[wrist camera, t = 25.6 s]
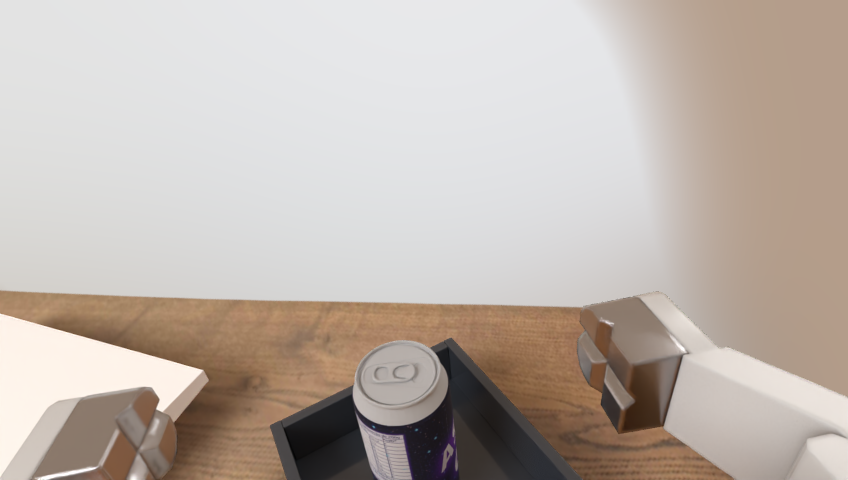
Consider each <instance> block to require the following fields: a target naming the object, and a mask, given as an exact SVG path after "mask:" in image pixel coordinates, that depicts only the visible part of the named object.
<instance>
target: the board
mask: <svg viewBox="0 0 848 480" xmlns="http://www.w3.org/2000/svg"><path fill="white" fill-rule="evenodd" d="M208 381H209V380H208V378H207V376H206V374H205V372H204V370H201V369H197V368H193V367H190V366H186V365H183V364H179V363H175V362H172V361H168V360H165V359H161V358H157V357H154V356H150V355H147V354H143V353H139V352H136V351H132V350H129V349H125V348H121V347H118V346H114V345H111V344H107V343H104V342H100V341H96V340H93V339H89V338H86V337H82V336H78V335H75V334H71V333H68V332H64V331H60V330H57V329H53V328H50V327H46V326H42V325H39V324H35V323H32V322H28V321H24V320H21V319H17V318H14V317H10V316H6V315H3V314H0V477H1V475H2V474H3V472H4V471H5V469H6V468H7V466H8V465H9V463H10V462H11V460H12V459H13V457H14V456H15V455H16V453H17V452H18V450H19V449H20V447H21V446H22V444H23V443H24V441H25V440H26V438H27V437H28V436H29V434H30V433H31V431H32V430H33V428H34V427H35V425H36V424H37V422H38V421H39V419H40V418H41V416H42V415H43V414H44V412H45V411H46V409H47V408H48V407H49V406H51V405H52V404H54V403H55V402H57V401H59V400H66V399H73V398H79V397H86V396H87V395H94V394H100V393H106V392H113V391H119V390H125V389H131V388H138V387H152V389H153V390H154V391H155V393H156V394H157V396H158V397H159V399H160V401H159V403H158V406H157V408H156V409H157V410H159V411H161V412H163V413H165V414H167V415H169V416H170V417H171V419H172V421H173V423H174V422H175V421H176V419H177V418H178V417H179V416H180V415H181V413H182V412H183V411H184V410H185V409H186V407H187V406H188V405H189V404H190V403H191V401H192V400H193V399H194V398H195V397H196V395H197V394H198V393H199V392H200V391H201V389H202V388H203V387H204V386H205V384H206V383H207V382H208Z"/></svg>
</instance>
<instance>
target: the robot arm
mask: <svg viewBox="0 0 848 480" xmlns="http://www.w3.org/2000/svg"><path fill="white" fill-rule="evenodd" d="M579 322H580V323H581V325H582V326H583V328H584V329H585V331H584V332H583V333H582V334H581V335H580V337H579V338H578V342H577V355H578V360H579V365H580V367H581V370H582V372H583V375H584V377H585V379H586V380H587V382H588V384H589V385H590V386H591V387H593V388H594V389H596V390H598V391H600V392H601V393H602V399H601V406H602V407H603V409H604V411H605V412H606V414H607V416H608V417H609V419H610V420H611V422H612V424H613V425H614V427H615V429H616V430H617V432H618V434H622V433H628V432H633V431H639V430H645V429H650V428H656V427H661V426H664V427H663V429H664V430H666V431H667V432H669V433H670V434H672V435H673V436H674V437H676V438H677V439H679V440H680V441H681V442H683V443H684V444H686V445H687V446H689V447H690V448H691V449H693V450H694V451H696V452H697V453H699V454H700V455H701V456H703V457H704V458H706V459H707V460H708V461H710V462H711V463H713V464H714V465H716V466H717V467H718V468H720V469H721V470H723V471H724V472H725V473H727V474H728V475H730V476H731V477H733V478H734V479H735V480H848V397H846V396H844V395H842V394H839V393H837V392H834V391H832V390H830V389H827V388H825V387H822V386H820V385H817V384H815V383H813V382H811V381H808V380H806V379H803V378H801V377H799V376H796V375H793V374H791V373H789V372H786V371H784V370H781V369H779V368H777V367H774V366H772V365H770V364H767V363H765V362H763V361H760V360H758V359H756V358H753V357H751V356H748V355H746V354H743V353H741V352H739V351H736V350H734V349H732V348H729V347H724V348H719V347H718V346H717V345H716V344H715V343H714V342H713V341H712V340H711V339H710V338H709V337H708V336H707V335H706V334H705V333H704V332H703V331H702V330H701V329H700V328H698V326H697V325H696V324H695V323H694V322H693V321H692V320H690V318H689V317H687V315H685V313H684V312H682V311H681V310H680V309H679V308H678V307H677V306H676V305H675V304H674V303H673V302H672V301H671V300H670V299H669V298H668V297H667V296H666V295H665V294H663V293H661V292H659V291H657V292H653V293H647V294H642V295H637V296H633V297H628V298H623V299H617V300H612V301H607V302H602V303H597V304H591V305H586V306H584V307H583V308H582V310H581V313H580V321H579ZM159 401H160V399H159V397H158V396H157V394H156V393H155V391H154V390H153V389H152V387H138V388H131V389H125V390H119V391H113V392H106V393H100V394H94V395H87V396H86V397H79V398H73V399H66V400H59V401H57V402H55V403H54V404H52V405H51V406H49V407H48V408H47V409H46V411H45V412H44V414H43V415H42V416H41V418H40V419H39V421H38V422H37V424H36V425H35V427H34V428H33V430H32V431H31V433H30V434H29V436H28V437H27V438H26V440H25V441H24V443H23V444H22V446H21V447H20V449H19V450H18V452H17V453H16V455H15V456H14V457H13V459H12V460H11V462H10V463H9V465H8V466H7V468H6V469H5V471H4V472H3V474H2V475H1V477H0V480H161V479H162V478H163V477H164V476H165V475H166V474H167V473H168V472H169V471H170V470H171V469H172V467H173V463H174V460H175V457H176V454H177V439H178V436H177V432H176V428H175V424H174V423H173V421H172V419H171V417H170V416H169V415H167V414H165V413H163V412H161V411H159V410H157V409H156V408H157V406H158V403H159Z"/></svg>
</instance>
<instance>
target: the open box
mask: <svg viewBox="0 0 848 480" xmlns="http://www.w3.org/2000/svg"><path fill="white" fill-rule="evenodd" d="M430 349H431V350H433V351H434V352H435V354H436V355H437V357H438V358H439V361H440V363H441V364H442V365H443V367H444V368H445V370H446V371H447V374H448V376H449V381H450V391H451V400H452V410H453V420H454V429H455V439H456V449H457V459H458V468H459V478H460V480H583V479H582V478H581V477H580V476H579V475H578V474H577V473H576V472H575V471H574V470H573V469H572V467H571V466H570V465H569V464H568V463H567V462H566V461H565V460H564V459H563V458H562V457H561V456H560V455H559V453H558V452H557V451H556V450H555V449H554V448H553V447H552V446H551V445H550V444H549V443H548V442H547V440H546V439H545V438H544V437H543V436H542V435H541V434H540V433H539V432H538V431H537V430H536V429H535V427H534V426H533V425H532V424H531V423H530V422H529V421H528V420H527V419H526V418H525V417H524V416H523V415H522V413H521V412H520V411H519V410H518V409H517V408H516V407H515V406H514V405H513V404H512V403H511V402H510V400H509V399H508V398H507V397H506V396H505V395H504V394H503V393H502V392H501V391H500V390H499V389H498V387H497V386H496V385H495V384H494V383H493V382H492V381H491V380H490V379H489V378H488V377H487V376H486V375H485V373H484V372H483V371H482V370H481V369H480V368H479V367H478V366H477V365H476V364H475V363H474V362H473V360H472V359H471V358H470V357H469V356H468V355H467V354H466V353H465V352H464V351H463V350H462V349H461V347H460V346H459V345H458V344H457V343H456V342H455V341H454V340H453V339H452V338H449V339H447V340H445V341H444V342H441V343H439V344H437V345H435V346H433V347H431V348H430ZM352 390H353V385H352V386H350V387H348V388H346V389H344V390H342V391H340V392H338V393H336V394H334V395H332V396H330V397H328V398H326V399H324V400H322V401H320V402H318V403H315V404H313V405H311V406H309V407H307V408H305V409H303V410H301V411H299V412H297V413H295V414H293V415H291V416H289V417H287V418H285V419H283V420H281V421H278V422H276V423H274V424H272V425H270V428H271V431H272V434H273V437H274V440H275V444H276V447H277V450H278V453H279V456H280V459H281V463H282V466H283V469H284V472H285V475H286V478H287V480H374V478H373V475H372V471H371V467H370V464H369V460H368V456H367V453H366V449H365V445H364V442H363V438H362V434H361V431H360V427H359V423H358V420H357V416H356V412H355V409H354V405H353V401H352Z"/></svg>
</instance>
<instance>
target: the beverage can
mask: <svg viewBox="0 0 848 480" xmlns="http://www.w3.org/2000/svg"><path fill="white" fill-rule="evenodd" d="M352 401H353V405H354V409H355V412H356V416H357V420H358V423H359V427H360V431H361V434H362V438H363V442H364V445H365V449H366V453H367V456H368V460H369V464H370V467H371V471H372V475H373V478H374V480H460V478H459V468H458V459H457V449H456V439H455V429H454V420H453V410H452V400H451V391H450V381H449V376H448V374H447V371H446V370H445V368H444V367H443V365H442V364H441V363H440V361H439V358H438V357H437V355H436V354H435V352H434V351H433V350H431V349H430V348H429V347H427V346H426V345H424V344H421V343H418V342H415V341H409V340H400V341H393V342H389V343H385V344H383V345H380V346H378V347H376V348H375V349H373V350H372V351H370V352H369V353H368V354H367V355H366V356H365V357H364V358H363V359H362V360H361V362H360V363H359V365H358V367H357V370H356V374H355V383H354V385H353V390H352Z"/></svg>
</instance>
